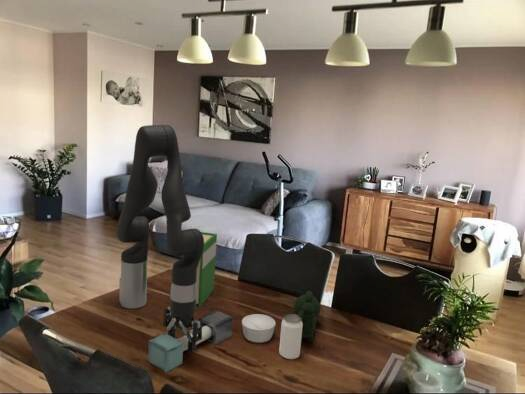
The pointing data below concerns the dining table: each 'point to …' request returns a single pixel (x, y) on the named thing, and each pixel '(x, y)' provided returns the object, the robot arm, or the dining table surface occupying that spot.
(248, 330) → the ramekin
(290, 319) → the can
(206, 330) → the tube
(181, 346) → the socket
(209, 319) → the sleeve
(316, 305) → the dark green lumpy piece
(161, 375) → the dining table surface
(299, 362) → the dining table surface
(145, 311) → the dining table surface
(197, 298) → the hardback book
